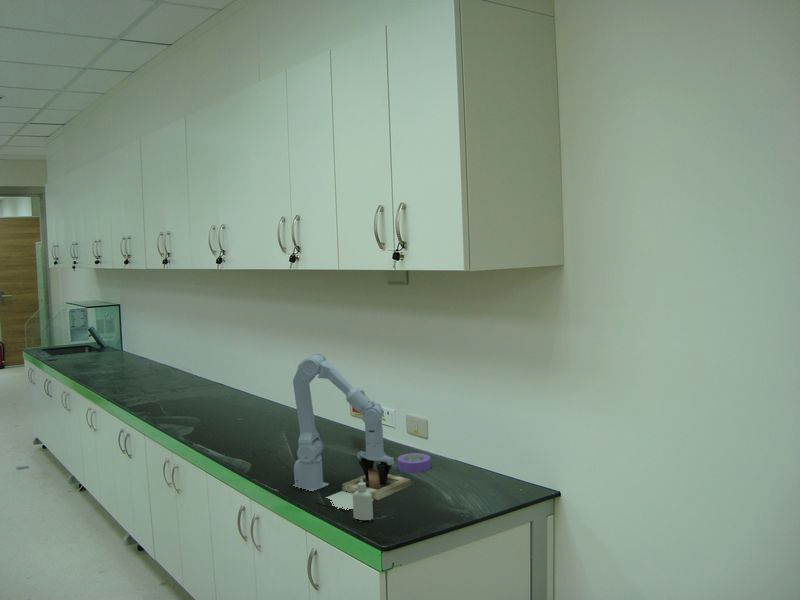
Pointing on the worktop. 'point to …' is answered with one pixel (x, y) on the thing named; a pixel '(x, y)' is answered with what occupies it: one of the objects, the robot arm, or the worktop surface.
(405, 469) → the masking tape
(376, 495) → the holder
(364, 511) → the eye dropper bottle
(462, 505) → the worktop surface
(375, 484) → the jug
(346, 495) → the mat
